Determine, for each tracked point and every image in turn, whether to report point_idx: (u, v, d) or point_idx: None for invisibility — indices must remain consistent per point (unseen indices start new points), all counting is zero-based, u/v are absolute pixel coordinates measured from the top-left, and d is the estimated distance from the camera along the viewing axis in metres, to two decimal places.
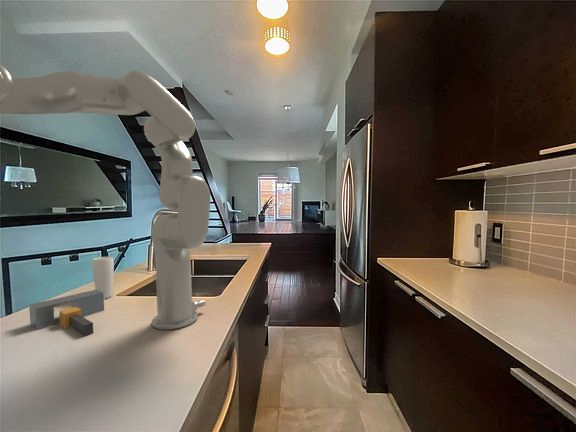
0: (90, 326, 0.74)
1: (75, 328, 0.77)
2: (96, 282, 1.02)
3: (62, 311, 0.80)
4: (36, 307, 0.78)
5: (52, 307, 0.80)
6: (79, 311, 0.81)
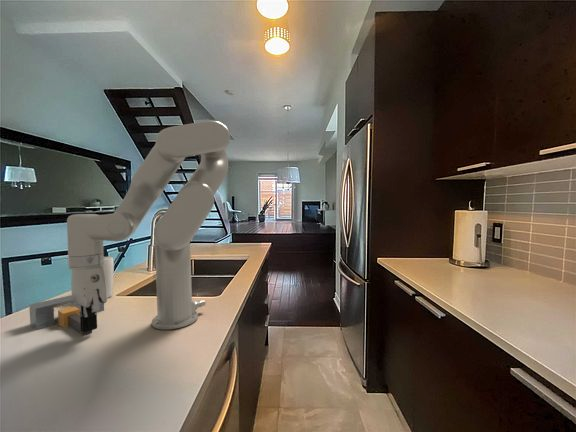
0: None
1: (74, 327, 0.77)
2: None
3: (61, 310, 0.81)
4: (36, 307, 0.78)
5: (52, 307, 0.80)
6: (78, 310, 0.82)
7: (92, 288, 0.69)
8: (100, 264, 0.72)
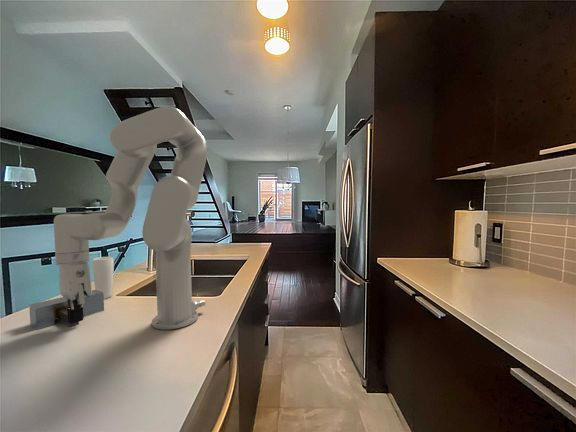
0: None
1: (62, 320, 0.83)
2: (96, 282, 1.02)
3: None
4: (36, 307, 0.78)
5: (52, 307, 0.80)
6: None
7: (77, 282, 0.75)
8: (85, 260, 0.78)
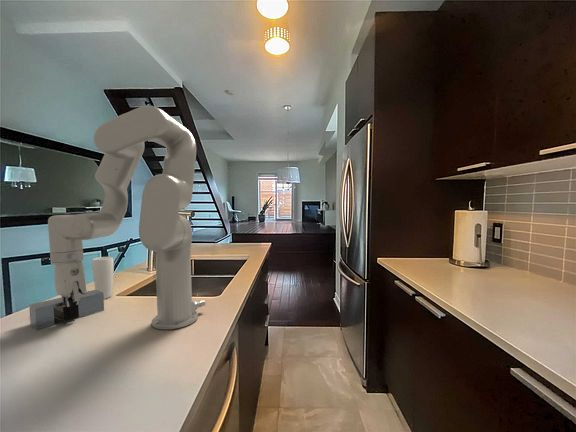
0: None
1: (57, 317, 0.85)
2: (96, 282, 1.02)
3: None
4: (36, 307, 0.78)
5: (52, 307, 0.80)
6: None
7: (72, 280, 0.78)
8: (79, 259, 0.81)
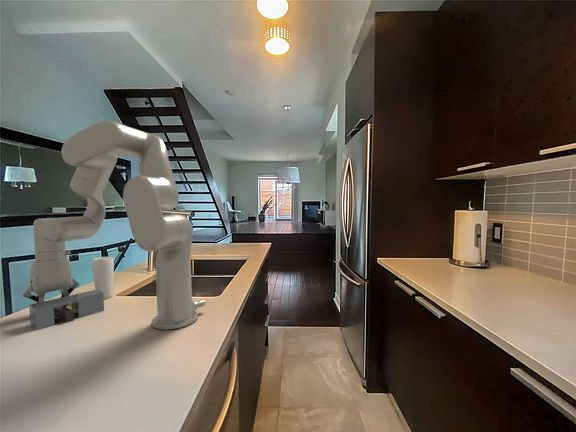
0: (71, 313, 0.83)
1: (57, 316, 0.85)
2: (96, 282, 1.02)
3: None
4: (36, 307, 0.78)
5: (52, 307, 0.80)
6: None
7: None
8: None
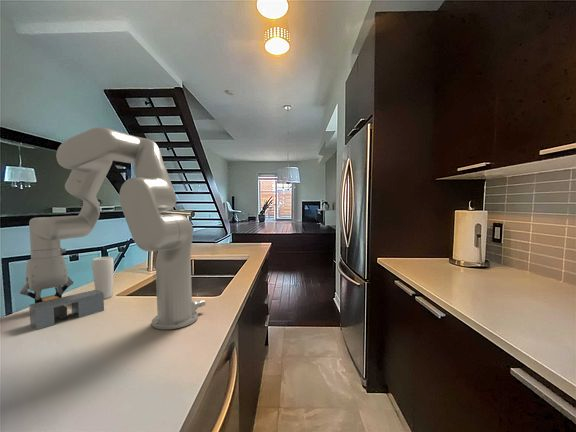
0: (64, 310, 0.85)
1: None
2: (96, 282, 1.02)
3: (41, 298, 0.92)
4: (36, 307, 0.78)
5: (52, 307, 0.80)
6: (56, 298, 0.93)
7: None
8: None
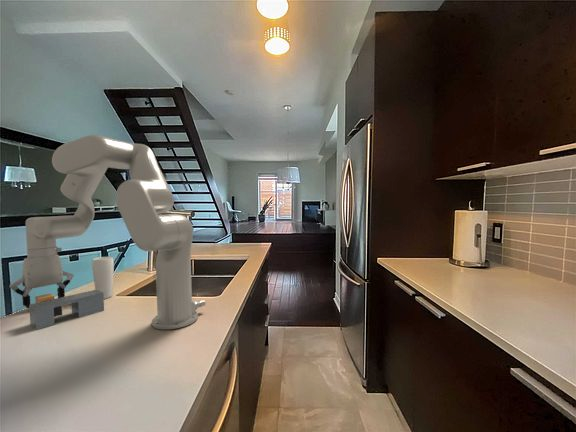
0: (59, 308, 0.88)
1: None
2: (96, 282, 1.02)
3: (37, 297, 0.94)
4: (36, 307, 0.78)
5: (52, 307, 0.80)
6: (52, 297, 0.95)
7: None
8: None
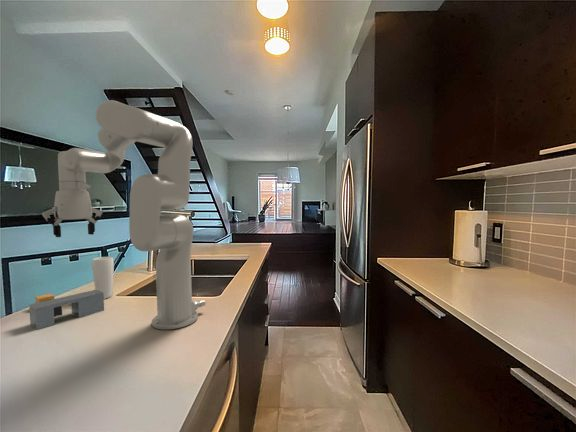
0: (59, 308, 0.88)
1: None
2: (96, 282, 1.02)
3: (37, 297, 0.94)
4: (36, 307, 0.78)
5: (52, 307, 0.80)
6: (52, 297, 0.95)
7: None
8: None
